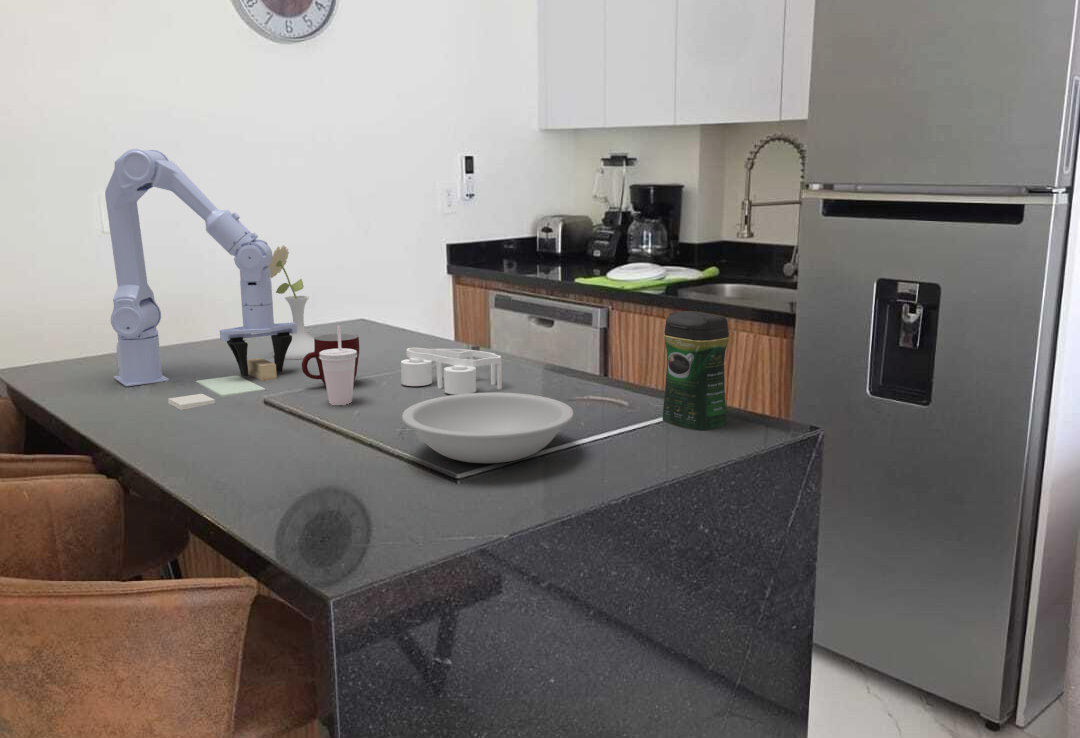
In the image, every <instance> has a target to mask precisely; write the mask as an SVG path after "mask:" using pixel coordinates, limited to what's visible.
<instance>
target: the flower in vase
mask: <svg viewBox="0 0 1080 738" xmlns="http://www.w3.org/2000/svg"><path fill="white" fill-rule="evenodd" d="M289 253H290V251H289V248H287V247H286V246H285V245H284V244H283V245H281V247H280V246H277V247H276V249H274V252H273V253H272V255H273V257H272V261H271V263H270V265H269V266H268V267H270V278H271V279H273V278H274V277H276V276H277V275H278V274H279V273H281V271H282V270H283V272H284V274H285V277H286V280H287V282H283V283H282V284H280V285H279V286H278V287H277V289H276V291H275V293H276V294H281V295H282V294H285V293H286V292H287V290H289V288H290V289H291V291H292V293H293V295H290V296H286V297H284V299H285V300H286V302H287V303H288V305H289V307H290V310H291V315H292V316H291V317H292V323H296V325H297V333H294V334H291V333H290V335H291V336H292V341H291V343H290V345H289V347H288V350H287V352H286V355H285V359H284V360H290V361H292V360H296V361H297V360H303V359H304V357H305V356H306V355H307V354H308V353H311V352H314V338H315V337H313V336H311V335H310V334H309V333H308V332H307V330H306V328H305V319H304V316H305V315H304V314H305V306H306V304H307V302H308V300H309V298H310V296H307V295H296V293H297V292H299V291H301V290H304V286H305V285H304V282H303V279H302V278H300V279H298V280H296V282H294V283H292V284H291V281H290V277H289V275H288V273H287V271H286V269H285V266H286V264H287V262H288V261H287V260H288V259H289V258H288V257H289ZM272 355H273V357H274V351H273V352H272Z"/></svg>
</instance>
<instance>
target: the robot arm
mask: <svg viewBox="0 0 1080 738" xmlns="http://www.w3.org/2000/svg"><path fill="white" fill-rule="evenodd" d="M152 188H157V189H161V190H165V191H170V192H172V193H173V194H174V195H175V196H177V197H178V198H179V199H180V200H181V201H182V202H183V203H184V204H186V205H187V206H188V207H189V208H190V209H191V210H192V211H193V212H195V213H196V215H198V216H199V217H200V218H201V219H202V220H203V221H204V224H205V230H206V233H207V234H208V235H210V236H211V238H212V239H214V241H216V243H218V244H219V245H220V246H221V247H222V248H223V249H224V250H225V252H227V253H228V254H229V255H230V256H233V257H234V258H233V262H234V264H235V266H236V267H237V269H238V270H239V278H240V281H239V284H240V285H239V286H240V297H241V312H242V315H241V316H242V325H243V326H237V327H231V328H226V329H219V339H220V341H222V342H226V343H227V346H228V347H229V349H230V350H231V352H232V354H233V356H234V357H235V358H234V359H235V361H236V363H237V366H238V367H239V368H238V369H239V372H240V376H241V377H242V376H243V378H244V377H248V376H249V374H248V365H247V359H248V347H249V343H248V342H246V341H245V339H250V338H260V337H268V336H269V337H271V343H272V350H273V352H274V356H273V360H274V362H273V363H274V364H276V372H278V373H283V369H284V362H285V360H286V359H285V355H286V352H287V350H288V347H289V345H290V343H291V341H292V336H291V335H290V334H294V333H297V325H296V323H293V322H283V323H280V322H279V323H275V320H274V307H273V305H274V304H273V303H274V302H273V288H272V287H273V286H272V278H270V267H268V266H269V265H270V263H271V261H272V257H273V251H272V249H271V247H270V246H269V245H268V243H267V241H265V240H263V239H257V238H258V237H259V235H258V234H257V233H256V232H253V233H252V232H251V231H250V230H249V229H248V227H246V226H245V225H244V224H243V223H242V222H241V221H240V220H239V219H240V218H241V217H240V215H239V214H238V213H237V212H231V211H230V210H229V209H218V207H216V205H215V204H214V203H213V202H212V201H211V200H210V199H209V198H208V197H207V196H206V194H205V193H203V192H202V190H201V189H200V188H199V187H198V186H197V185H196V184H195V183H194V182H193V181H192V179H190V178H189V176H187V174H185V172H184V171H183V170H182V169H181V168H180V167H179V166H178V164H177V163H175V162H174V161H172V160H170V159H169V158H168V156H167V155H166V154H164V153H163V152H162V151H160V150H155V149H149V150H145V149H139V148H132V149H129V150H127V151H125V152H123V154H121V155H120V156H119V157H118V158H117V159H116V160H115V161H114V169H113V172H112V174H111V176H110V178H109V181H108V183H107V185H106V188H105V193H104V195H105V203H106V209H107V218H108V224H109V225H108V226H109V231H110V240H111V248H112V255H113V262H114V268H115V277H116V284H117V288H116V291H115V293H114V296H113V298H112V303H113V309H112V313H111V315H110V325H111V327H112V329H113V330H114V331H115V333H117V344H116V356H117V366H118V375H114V376H113V378H114V380H116V381H117V382H119V383H120V384H121V385H123V386H124V387H132V386H141V385H148V384H149V385H150V384H156V383H164V382H163V381H165V382H169V380H170V379H169V378H168V377H166V376H165V375H163V373H162V359H161V349H160V339H159V338H160V337H159V331H158V330H157V329H158V328H157V326H159V324H160V322H161V319H162V311H161V309H160V306H159V305H158V304H157V301H156V300H155V296H154V292H153V290H152V289H151V287H150V286H149V284H148V277H147V271H146V261H145V254H144V247H143V240H142V239H143V238H142V232H141V231H142V230H141V223H140V215H139V210H138V209H139V208H138V201H139V200H140V199H141V198H142V197H143V196H144V195H145V194H146V193H147V192H148V190H150V189H152Z"/></svg>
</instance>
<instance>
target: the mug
mask: <svg viewBox="0 0 1080 738" xmlns="http://www.w3.org/2000/svg"><path fill="white" fill-rule="evenodd" d="M313 338H314V352H311V353H308V354H307V355H306V356H305V357H304V359H302V362H301V370H302V372H303V374H304V375H305V376H306V377H308V378H310V379H312V380H321V381H322V383H323V384H324V386H325V387H326V382H325V377H324V371H323V366H322V360H321V359H319V357H320V355H319V353H320V352H321V351H323V350H328V349H338V333H329V334H327V333H326V334H322V335H321V334H320V335H317V336H315V337H313ZM341 346H342V348H346V349H354V350H356V351H357V357H356V358H355V370H354V381H355V380H356V377H357V373H358V372H357V371H358V364H359V357H360V337H359V335H357V334H352V333H341ZM311 359H316V364H317V367H318V371H319V372H318V373H319V374H312V373H311V372H310V371H309V370H308V364H309V362H310V360H311Z"/></svg>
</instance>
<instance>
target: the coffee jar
mask: <svg viewBox="0 0 1080 738" xmlns="http://www.w3.org/2000/svg"><path fill="white" fill-rule="evenodd" d="M665 320H666V321H665V327H664V332H663V333H664V335H663V337H664V343H665V348H666V372H665V385H664V386H665V389H664V397H663V407H662V408H663V409H662V421H663V422H664V423H666V424H669V425H671V426H675V427H678V428H682V429H686V430H690V431H699V432H700V431H710V430H714V429H717V428H722V427H723V426H725V425H727V405H726V404H727V403H726V390H725V389H726V388H725V385H726V384H725V358H726V350H727V347H728V343H729V341H730V338H729V336H730V334H729V324H728V323H729V321H728V319H727V318H726V317H725V316H724V315H721V314H713V313H708V312H703V311H695V310H694V311H693V310H685V311H683V310H682V311H677V312H676V311H674V312H670V313H669V314H668V316H667V317H666V319H665Z"/></svg>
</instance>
